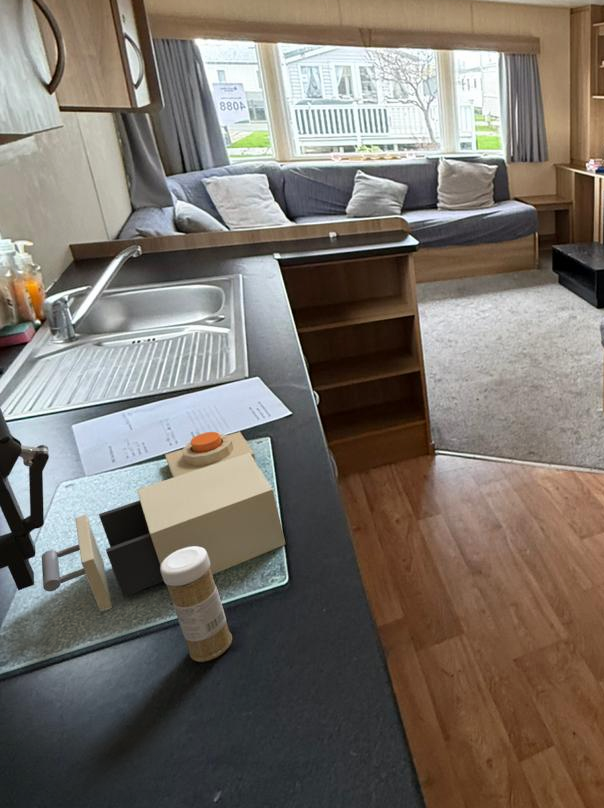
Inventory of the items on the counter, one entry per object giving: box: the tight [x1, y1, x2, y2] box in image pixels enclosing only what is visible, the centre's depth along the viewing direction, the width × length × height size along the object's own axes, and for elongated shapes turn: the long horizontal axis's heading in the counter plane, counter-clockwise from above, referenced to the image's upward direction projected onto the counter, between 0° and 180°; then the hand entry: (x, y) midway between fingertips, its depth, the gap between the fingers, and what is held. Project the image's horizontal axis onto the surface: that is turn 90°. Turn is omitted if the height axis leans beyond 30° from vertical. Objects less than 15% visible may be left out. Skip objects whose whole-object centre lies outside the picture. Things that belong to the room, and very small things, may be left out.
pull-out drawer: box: [41, 499, 164, 613], centre depth 87 cm, size 18×11×8 cm, turn 130°
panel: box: [164, 431, 258, 478], centre depth 113 cm, size 12×10×4 cm
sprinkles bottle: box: [160, 546, 233, 663], centre depth 75 cm, size 5×5×14 cm
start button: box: [190, 431, 222, 453], centre depth 112 cm, size 4×4×2 cm
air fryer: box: [136, 453, 286, 591], centre depth 93 cm, size 15×13×10 cm
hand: (26, 581), depth 80 cm, fingers closed
